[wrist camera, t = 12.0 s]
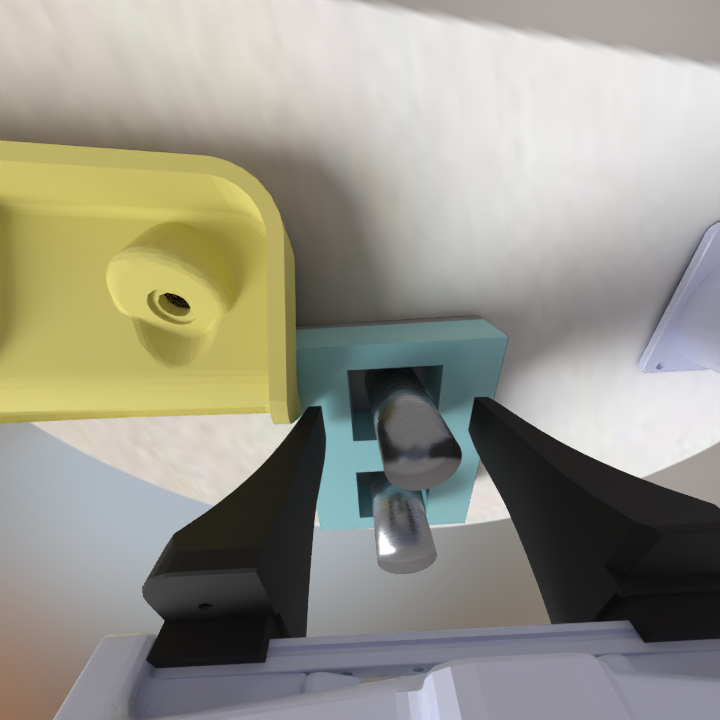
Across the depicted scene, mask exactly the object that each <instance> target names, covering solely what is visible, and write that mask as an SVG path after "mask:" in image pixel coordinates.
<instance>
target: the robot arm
mask: <svg viewBox="0 0 720 720" xmlns="http://www.w3.org/2000/svg"><path fill="white" fill-rule="evenodd" d="M637 367H638V369H639V370H641V371H643V372H645V373H657V372H675V371H693V370H713V371H715V372H718V373H720V222H717V223H716V224H714V225H712V226H711V227H710V228H709V229H708V230H707V232H706V233H705V235H704V237H703V239H702V241H701V242H700V244H699V246H698V248H697V250H696V252H695V254H694V256H693V258H692V260H691V262H690V264H689V266H688V268H687V270H686V272H685V274H684V276H683V277H682V279H681V281H680V283H679V285H678V287H677V289H676V291H675V293H674V295H673V297H672V299H671V301H670V303H669V305H668V307H667V309H666V310H665V312H664V314H663V316H662V318H661V320H660V322H659V324H658V326H657V328H656V330H655V332H654V334H653V336H652V338H651V340H650V342H649V343H648V345H647V347H646V349H645V351H644V353H643V355H642V357H641V359H640V361H639V363H638V366H637ZM468 432H469V434H470V437H471V440H472V442H473V445H474V447H475V449H476V451H477V453H478V455H479V457H480V459H481V461H482V463H483V464H484V466H485V468H486V470H487V472H488V473H489V475H490V477H491V479H492V481H493V482H494V484H495V486H496V488H497V490H498V491H499V493H500V495H501V497H502V499H503V501H504V503H505V505H506V507H507V509H508V512H509V514H510V516H511V518H512V521H513V523H514V525H515V528H516V530H517V532H518V535H519V537H520V540H521V542H522V545H523V547H524V550H525V552H526V554H527V557H528V560H529V562H530V565H531V568H532V570H533V573H534V575H535V578H536V581H537V583H538V586H539V589H540V592H541V594H542V598H543V600H544V603H545V606H546V609H547V612H548V615H549V618H550V621H551V625H533V626H532V625H530V626H513V627H512V626H511V627H493V628H475V629H474V628H473V629H454V630H435V631H417V632H397V633H378V634H359V635H342V636H341V635H340V636H321V637H306V630H307V612H308V595H309V581H310V566H311V555H312V541H313V530H314V520H315V512H316V505H317V499H318V494H319V489H320V483H321V478H322V473H323V467H324V461H325V452H326V432H325V426H324V419H323V413H322V406H309V407H308V408H307V409H306V410H305V412H304V413H303V415H302V416H301V418H300V419H299V421H298V422H297V423H296V425H295V426H294V428H293V429H292V430H291V432H290V433H289V434H288V436H287V437H286V438H285V439H284V441H283V442H282V443H281V444H280V446H279V447H278V448H277V449H276V450H275V451H274V453H273V454H272V455H271V456H270V457H269V458H268V459H267V460H266V461H265V462H264V464H263V465H262V466H261V467H260V468H259V469H258V470H257V471H256V472H254V473H253V474H252V475H251V476H250V477H249V478H248V479H247V480H246V481H245V482H244V483H242V484H241V485H240V486H239V487H238V488H237V489H236V490H234V491H233V492H232V493H231V494H229V495H228V496H227V497H226V498H224V499H223V500H222V501H220V502H219V503H218V504H217V505H215V506H214V507H213V508H211V509H210V510H209V511H207V512H206V513H205V514H203V515H201V516H200V517H198V518H197V519H196V520H194V521H192V522H191V523H190V524H188V525H187V526H185V527H184V528H182V529H181V530H179V531H178V532H176V533H175V534H174V535H173V537H172V538H171V539H170V541H169V543H168V544H167V545H166V547H165V549H164V551H163V552H162V554H161V556H160V557H159V559H158V561H157V563H156V564H155V566H154V568H153V570H152V571H151V573H150V575H149V577H148V578H147V580H146V582H145V583H144V585H143V587H142V593H143V597H144V598H145V600H146V601H147V603H148V604H149V605H150V606H151V607H152V608H153V609H154V610H155V611H156V612H157V613H158V614H159V615H160V616H161V617H162V618H163V619H164V620H165V622H164V624H163V626H162V628H161V630H160V632H159V634H158V636H156V635H153V634H149V633H134V634H133V633H132V634H113V635H107V636H105V637H103V638H102V640H101V642H100V643H99V645H98V646H97V648H96V650H95V652H94V653H93V655H92V656H91V658H90V660H89V661H88V663H87V665H86V666H85V668H84V670H83V671H82V673H81V675H80V676H79V678H78V679H77V681H76V683H75V685H74V686H73V688H72V690H71V691H70V693H69V694H68V696H67V698H66V699H65V701H64V703H63V704H62V706H61V708H60V709H59V711H58V712H57V714H56V716H55V718H54V719H53V720H720V508H718V507H717V506H716V505H714V504H712V503H709V502H706V501H703V500H700V499H697V498H694V497H691V496H688V495H685V494H682V493H679V492H676V491H673V490H670V489H667V488H664V487H662V486H659V485H656V484H654V483H651V482H648V481H646V480H643V479H640V478H638V477H635V476H633V475H630V474H628V473H625V472H623V471H620V470H618V469H616V468H614V467H611V466H609V465H607V464H604V463H602V462H600V461H598V460H596V459H593V458H591V457H589V456H587V455H585V454H583V453H581V452H579V451H577V450H575V449H573V448H571V447H569V446H567V445H565V444H563V443H562V442H560V441H558V440H556V439H554V438H553V437H551V436H549V435H548V434H546V433H544V432H542V431H541V430H539V429H537V428H536V427H534V426H533V425H531V424H529V423H528V422H526V421H525V420H523V419H522V418H520V417H518V416H517V415H515V414H514V413H512V412H511V411H509V410H508V409H506V408H505V407H503V406H502V405H500V404H499V403H497V402H496V401H494V400H493V399H491V398H489V397H474V402H473V407H472V412H471V418H470V423H469V428H468ZM392 676H405V677H399V678H394V679H388V680H381V681H375V682H369V683H363V684H362V681H361V679H360V678H372V677H392Z"/></svg>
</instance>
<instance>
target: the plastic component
mask: <svg viewBox="0 0 720 720" xmlns="http://www.w3.org/2000/svg"><path fill="white" fill-rule="evenodd" d="M165 293H171V294H176V295H178V296H180V297H182V298H184V299H185V300H186V301H187V302H188V304H189V306H190V308H187V309H185V308H180V307H177V306H175V305H173V304H172V303H170V302H169V301H168V300H167V298H166V297H165V295H164V294H165ZM250 413H271V417H272V420H273V422H274V423H275V424H292V423H293V422H294V421H296V420H297V419H298V418H299V417H301V416H302V409H301V402H300V399H299V396H298V388H297V370H296V301H295V258H294V253H293V249H292V245H291V243H290V240H289V237H288V234H287V232H286V229H285V226H284V223H283V221H282V218H281V215H280V213H279V211H278V209H277V207H276V205H275V203H274V201H273V199H272V197H271V195H270V194H269V192H268V191H267V190H266V189H265V188H264V186H263V185H262V184H261V183H260V182H259V181H258V179H256V178H255V177H254V176H252V175H251V174H250V173H248V172H247V171H246V170H245V169H243V168H241V167H239V166H237V165H235V164H233V163H231V162H229V161H226V160H223V159H219V158H216V157H212V156H206V155H192V154H178V153H165V152H151V151H138V150H124V149H110V148H97V147H83V146H69V145H56V144H42V143H29V142H15V141H1V140H0V424H3V423H21V422H39V421H58V420H79V419H100V418H125V417H154V416H186V415H218V414H250Z"/></svg>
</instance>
